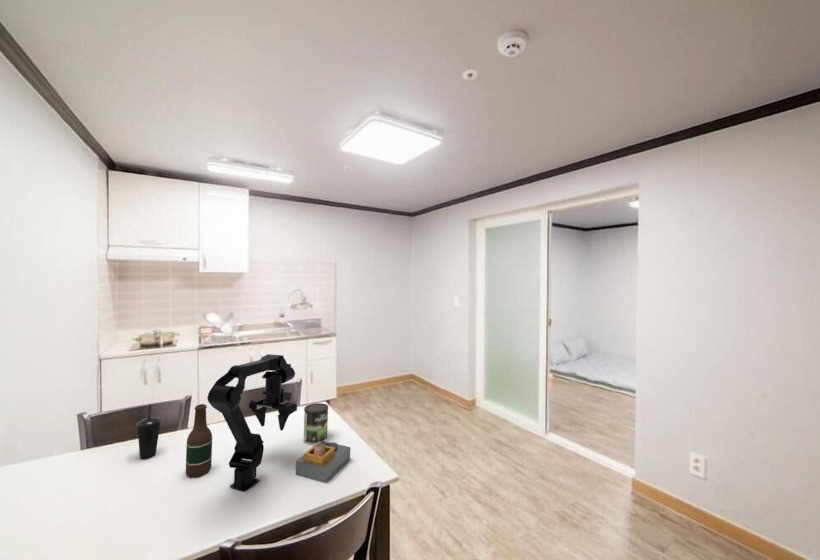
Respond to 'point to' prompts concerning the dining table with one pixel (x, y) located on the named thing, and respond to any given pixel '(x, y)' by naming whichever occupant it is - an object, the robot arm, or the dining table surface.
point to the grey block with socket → (323, 462)
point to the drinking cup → (148, 435)
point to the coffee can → (315, 423)
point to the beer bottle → (199, 445)
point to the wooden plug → (319, 449)
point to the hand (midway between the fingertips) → (272, 428)
